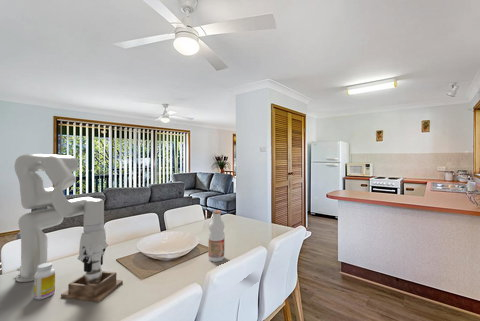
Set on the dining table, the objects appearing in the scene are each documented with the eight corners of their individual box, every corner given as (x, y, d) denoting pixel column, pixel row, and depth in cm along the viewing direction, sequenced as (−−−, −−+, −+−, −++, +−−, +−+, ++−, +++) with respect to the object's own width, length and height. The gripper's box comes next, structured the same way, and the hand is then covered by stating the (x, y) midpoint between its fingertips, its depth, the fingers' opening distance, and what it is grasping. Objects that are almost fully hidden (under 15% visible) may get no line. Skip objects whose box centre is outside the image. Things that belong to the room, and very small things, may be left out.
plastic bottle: (99, 276, 102) (99, 233, 102) (104, 281, 98) (105, 236, 98) (82, 282, 97) (82, 237, 97) (87, 288, 93) (88, 241, 93)
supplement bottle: (59, 290, 97) (59, 261, 97) (46, 299, 90) (46, 268, 90) (43, 290, 96) (43, 261, 96) (29, 300, 90) (29, 268, 90)
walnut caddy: (60, 297, 92) (61, 284, 92) (89, 279, 106) (89, 268, 106) (98, 302, 89) (98, 289, 89) (122, 283, 103) (122, 272, 103)
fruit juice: (205, 257, 131) (206, 210, 131) (219, 253, 136) (220, 208, 136) (212, 263, 123) (213, 213, 123) (227, 259, 128) (227, 211, 128)
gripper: (101, 221, 106) (101, 258, 106) (68, 233, 89) (68, 277, 90) (115, 222, 105) (115, 260, 105) (84, 234, 88) (84, 279, 88)
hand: (93, 267), depth 97 cm, fingers closed on plastic bottle, 5 cm apart
